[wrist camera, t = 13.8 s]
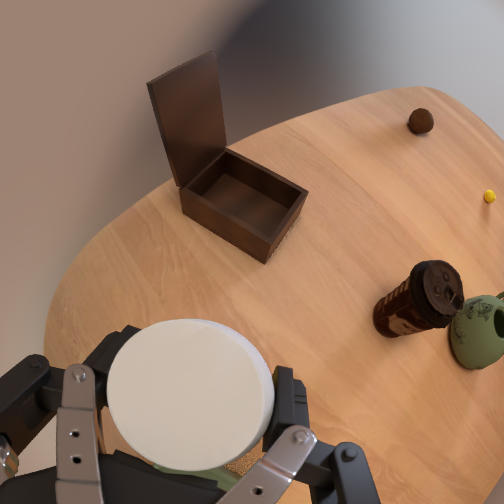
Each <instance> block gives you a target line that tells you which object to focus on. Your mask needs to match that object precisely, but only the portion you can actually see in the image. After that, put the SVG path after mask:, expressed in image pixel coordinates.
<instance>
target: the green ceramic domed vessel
mask: <svg viewBox="0 0 504 504" xmlns="http://www.w3.org/2000/svg"><path fill="white" fill-rule="evenodd" d="M503 297H504V292H502V293H500V294H499V295H497V296H496V297H494V296H491V295H482V296H478V297H474V298H470V299H467V300H466V301H465V302H464V303H463V309H462V310H458V313H456V315H455V317H453V319H452V323H451V341H452V347H453V351H454V353H455V355H456V357H457V359H458V361H459V362H460V363H461V364H462V365H463V366H464V367H465V368H469V369H483V368H485V367H487V366H489V365H491V364H493V363H494V362H496V361H497V360H499V359H500V358H501V357H502V356H503V354H504V298H503ZM501 298H503V300H502V301H501V300H500V299H501Z"/></svg>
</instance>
